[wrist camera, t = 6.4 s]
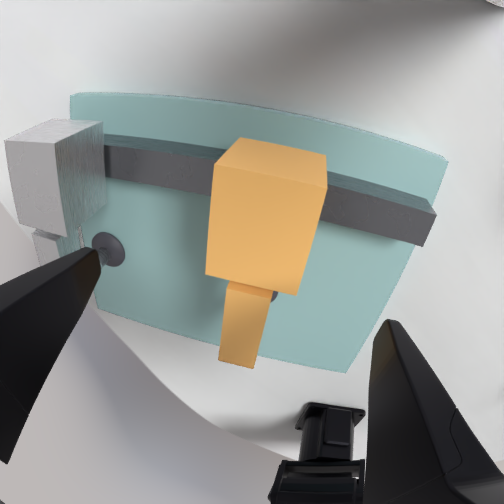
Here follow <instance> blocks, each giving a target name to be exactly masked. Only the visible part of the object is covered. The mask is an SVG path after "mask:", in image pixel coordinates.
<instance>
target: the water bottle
mask: <svg viewBox="0 0 504 504" xmlns="http://www.w3.org/2000/svg"><path fill="white" fill-rule="evenodd" d="M486 1H488V2H490V3H492V4H494V5H497V6H501V7H504V0H486Z"/></svg>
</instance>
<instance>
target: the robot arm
mask: <svg viewBox="0 0 504 504" xmlns="http://www.w3.org/2000/svg"><path fill="white" fill-rule="evenodd" d="M100 275H101V265H100V259H99V254H98V251H97V250H96V249H94V248H90V247H84V248H81V249H79V250H77V251H74V252H72V253H70V254H67V255H65V256H63V257H60V258H58V259H56V260H54V261H51V262H49V263H47V264H45V265H42V266H40V267H38V268H36V269H34V270H31V271H29V272H27V273H25V274H23V275H21V276H18V277H17V278H14V279H12V280H10V281H8V282H6V283H4V284H2V285H0V460H1V461H2V462H4V463H5V464H8V462H9V460H10V458H11V455H12V452H13V450H14V448H15V445H16V443H17V441H18V438H19V436H20V434H21V431H22V429H23V427H24V424H25V422H26V420H27V418H28V416H29V413H30V411H31V409H32V407H33V405H34V403H35V400H36V398H37V396H38V394H39V392H40V390H41V388H42V386H43V384H44V382H45V380H46V378H47V376H48V374H49V373H50V371H51V369H52V367H53V365H54V363H55V361H56V359H57V357H58V356H59V354H60V352H61V350H62V348H63V346H64V344H65V343H66V341H67V339H68V337H69V336H70V334H71V332H72V330H73V329H74V327H75V325H76V324H77V322H78V320H79V318H80V317H81V315H82V313H83V311H84V309H85V307H86V305H87V303H88V300H89V298H90V296H91V294H92V292H93V290H94V288H95V286H96V284H97V282H98V280H99V278H100ZM365 415H366V412H365V411H364V410H358V409H350V408H343V407H336V406H330V405H323V404H317V403H310V404H309V405H308V406H307V408H306V409H305V411H304V413H303V414H302V416H301V417H300V419H299V420H298V422H297V424H296V426H295V429H297V430H302V431H303V432H302V440H301V447H300V454H299V460H298V461H288V460H282V463H281V465H279V468H278V471H277V475H276V478H275V481H274V484H273V486H272V488H271V491H270V493H269V495H268V500H269V501H270V502H271V504H504V474H503V473H501V471H500V470H499V469H498V468H497V466H496V465H495V463H494V462H493V460H492V459H491V457H490V456H489V455H488V453H487V452H486V450H485V449H484V448H483V446H482V445H481V443H480V442H479V441H478V439H477V438H476V436H475V435H474V433H473V432H472V430H471V429H470V427H469V426H468V424H467V423H466V421H465V420H464V418H463V416H462V415H461V413H460V412H459V410H458V408H456V405H455V404H454V402H453V401H452V399H451V397H450V396H449V394H448V393H447V391H446V390H445V388H444V386H443V385H442V383H441V382H440V380H439V379H438V377H437V376H436V374H435V373H434V371H433V370H432V368H431V367H430V365H429V364H428V362H427V361H426V359H425V358H424V356H423V355H422V353H421V352H420V351H419V349H418V348H417V346H416V345H415V343H414V342H413V340H412V339H411V338H410V336H409V335H408V333H407V332H406V330H405V329H404V328H403V326H402V325H401V323H400V322H399V321H396V320H390V319H386V320H385V321H384V322H383V324H382V326H381V327H380V329H379V331H378V333H377V334H376V336H375V338H374V341H373V349H372V360H371V370H370V380H369V397H368V438H367V457H366V472H365V459H360V460H353V461H352V459H353V440H354V427H355V426H356V425H357V424H358V423H359V422H360V421H361V420H362V419H363V417H364V416H365ZM364 476H365V484H364ZM352 477H359V479H356V478H352ZM0 504H5V503H4V502H2V501H1V500H0Z"/></svg>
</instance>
